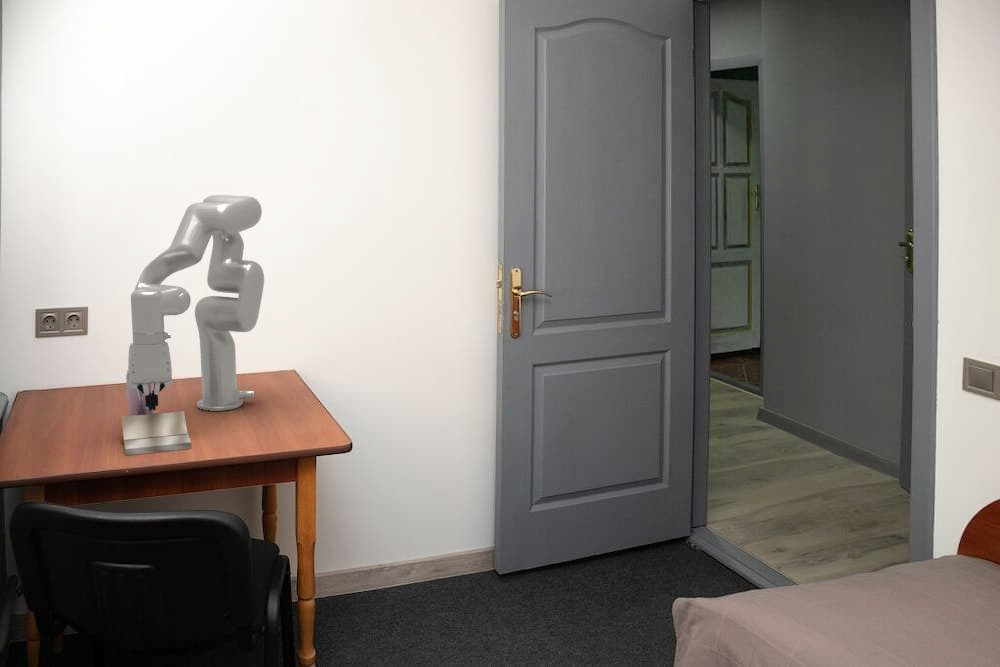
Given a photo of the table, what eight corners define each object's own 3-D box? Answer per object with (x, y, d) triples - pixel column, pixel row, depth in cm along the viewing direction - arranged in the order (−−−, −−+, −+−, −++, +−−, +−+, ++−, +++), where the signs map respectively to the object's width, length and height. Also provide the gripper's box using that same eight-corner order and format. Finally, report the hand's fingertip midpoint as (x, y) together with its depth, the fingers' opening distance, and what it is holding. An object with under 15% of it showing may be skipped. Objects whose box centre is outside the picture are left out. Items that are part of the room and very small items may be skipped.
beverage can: (148, 421, 252) (145, 367, 249) (156, 426, 248) (153, 371, 245) (126, 424, 249) (122, 369, 246) (133, 430, 244) (130, 374, 241)
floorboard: (187, 439, 237) (187, 433, 237) (191, 448, 230) (191, 442, 230) (124, 445, 231) (123, 439, 231) (125, 455, 224) (125, 449, 224)
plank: (183, 415, 244) (183, 410, 243) (187, 437, 238) (187, 433, 237) (121, 420, 238) (121, 416, 237) (124, 444, 232) (123, 439, 231)
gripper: (178, 334, 242) (181, 403, 245) (116, 337, 236) (119, 408, 239) (181, 339, 235) (184, 410, 239) (117, 343, 229) (121, 415, 233)
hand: (152, 409), depth 239 cm, fingers closed
